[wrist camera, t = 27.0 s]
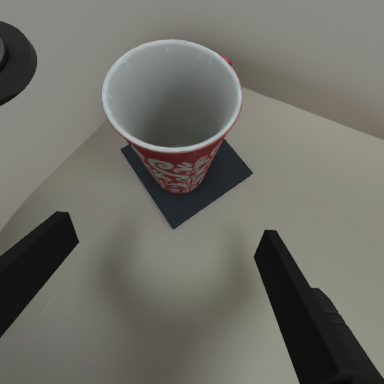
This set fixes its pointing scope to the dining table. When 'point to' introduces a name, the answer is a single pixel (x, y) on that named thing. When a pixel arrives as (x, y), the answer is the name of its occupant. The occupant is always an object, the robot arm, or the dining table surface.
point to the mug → (173, 108)
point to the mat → (203, 194)
